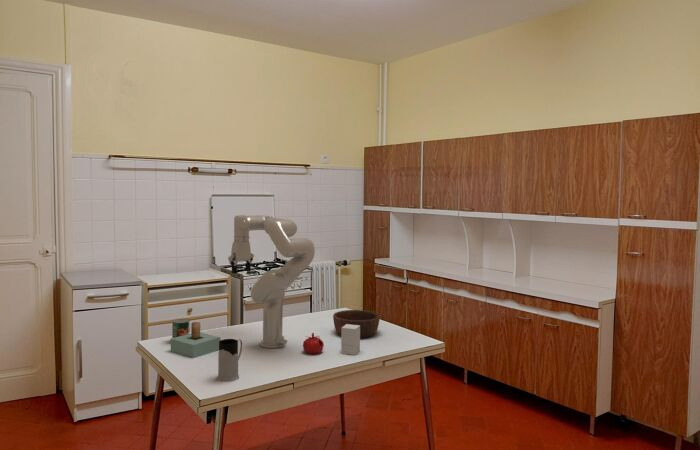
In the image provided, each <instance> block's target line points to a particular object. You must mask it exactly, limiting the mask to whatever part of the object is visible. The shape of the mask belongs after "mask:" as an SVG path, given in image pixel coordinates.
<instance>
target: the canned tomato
mask: <svg viewBox="0 0 700 450" xmlns="http://www.w3.org/2000/svg"><path fill="white" fill-rule="evenodd" d="M171 324H172V328H171V332H172V334H171V335H172V338H175V337H179V336H183V335H187V334H190V319H189V318H177V319H173V320H172V323H171Z"/></svg>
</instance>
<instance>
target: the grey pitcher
mask: <svg viewBox="0 0 700 450" xmlns="http://www.w3.org/2000/svg"><path fill="white" fill-rule="evenodd" d="M239 342H240V348H239ZM242 350H243V341H242V339H234V338H224V339H220V341H219V350H218V352H217V353H218V355H217V358H218V359H217V360H218V369H217V370H218V371H217V372H218V373H217V377H216V378H217V380H218V381H219V382H226V383H227V382H233V381H236V380H239V379H240V375H239V360H240V358H241V355H242V352H243V351H242Z"/></svg>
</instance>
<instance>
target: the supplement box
mask: <svg viewBox="0 0 700 450" xmlns="http://www.w3.org/2000/svg"><path fill="white" fill-rule="evenodd" d="M340 337H341V341H340V342H341V343H340V344H341V345H340V346H341V347H340V349H341V350H340V351H341V353H340V354H343V355H351V356H356V355H357V354H358V353H360V351H361V338H360V325H350V324H346V325H344V326H343V327H342V328H341V336H340Z"/></svg>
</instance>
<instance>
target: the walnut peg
mask: <svg viewBox="0 0 700 450" xmlns="http://www.w3.org/2000/svg"><path fill="white" fill-rule="evenodd" d="M190 331H191V332H190V333H191V339H192V340H198V339H200V332H201V322H199V321H194V322H191V330H190Z"/></svg>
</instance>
